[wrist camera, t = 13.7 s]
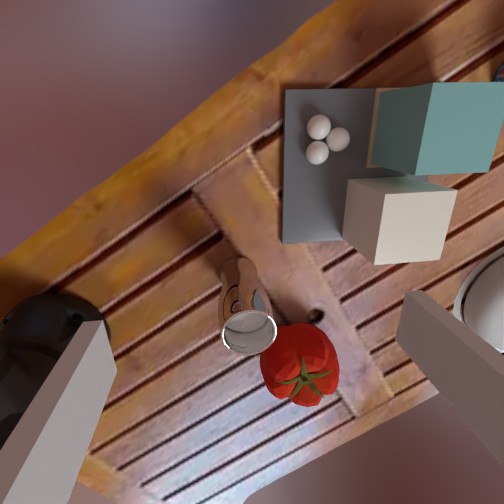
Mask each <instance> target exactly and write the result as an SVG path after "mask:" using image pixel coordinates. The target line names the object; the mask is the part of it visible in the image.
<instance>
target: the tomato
mask: <svg viewBox="0 0 504 504" xmlns="http://www.w3.org/2000/svg"><path fill="white" fill-rule="evenodd" d="M260 367H261V372H262V375H263V378H264V381H265V384H266V387H267V388H268V390H269V392H270V393H271V394H273V395H274V396H275V397H277V398H279V399H283V398H286V397H289V399H290V400H291V401H292V402H293V403H295V404H297V405H301V406H306V407H310V406H315V405H318V404H319V402H320V400H321V398H322V397H324V396H323V395H328V394H333V392H334V391H335V389H336V388H337V386H338V381H339V371H340V369H339V363H338V358H337V354H336V351H335V348H334V346H333V344H332V343H331V341H330V340H329V338H328V337H327V335H326V334H325V333H324V332H323V331H322V330H321V329H319V328H317V327H316V326H314V325H311V324H305V323H295V324H292V325H289V326H277V334H276V337H275V340H274V341H273V343H272V344H271V345H270V346H269V347H268V348H267V349H266V350H264V351H263V352H261V355H260ZM289 399H288V400H289Z"/></svg>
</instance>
